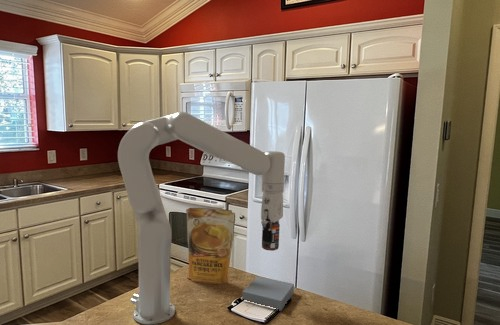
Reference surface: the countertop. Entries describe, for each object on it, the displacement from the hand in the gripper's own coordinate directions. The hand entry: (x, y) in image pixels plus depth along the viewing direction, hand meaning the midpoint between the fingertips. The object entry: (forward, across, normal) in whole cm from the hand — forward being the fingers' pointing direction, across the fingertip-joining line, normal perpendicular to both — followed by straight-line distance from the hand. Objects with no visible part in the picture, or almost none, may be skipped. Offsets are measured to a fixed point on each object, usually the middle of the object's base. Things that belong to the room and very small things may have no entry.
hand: (270, 238), depth 117 cm
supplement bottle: (+4, 0, 0) cm, 4 cm away
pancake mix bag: (+22, +2, +26) cm, 34 cm away
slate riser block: (+21, 0, 0) cm, 21 cm away
